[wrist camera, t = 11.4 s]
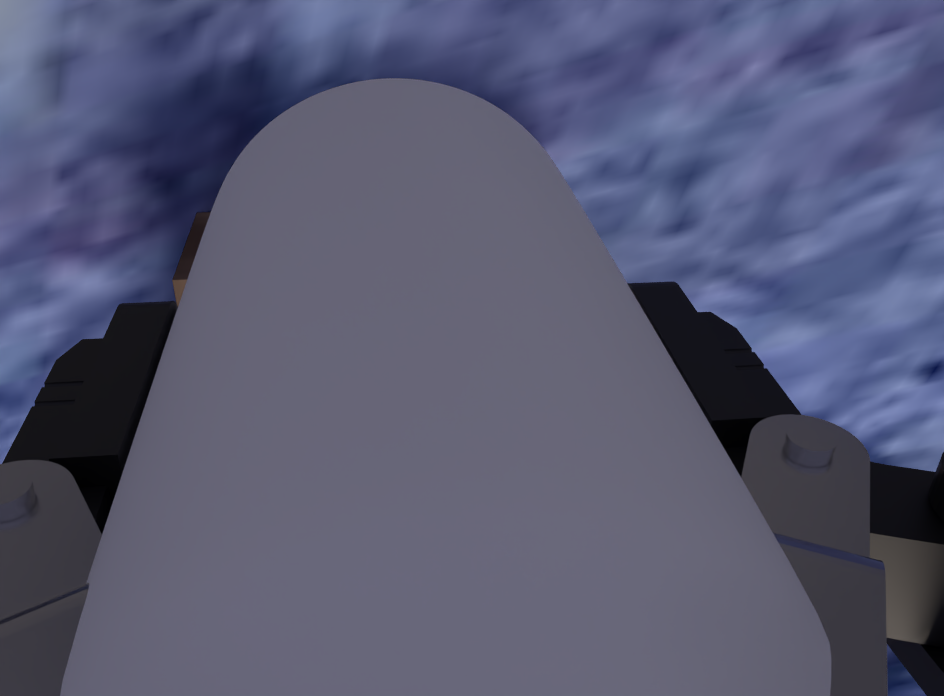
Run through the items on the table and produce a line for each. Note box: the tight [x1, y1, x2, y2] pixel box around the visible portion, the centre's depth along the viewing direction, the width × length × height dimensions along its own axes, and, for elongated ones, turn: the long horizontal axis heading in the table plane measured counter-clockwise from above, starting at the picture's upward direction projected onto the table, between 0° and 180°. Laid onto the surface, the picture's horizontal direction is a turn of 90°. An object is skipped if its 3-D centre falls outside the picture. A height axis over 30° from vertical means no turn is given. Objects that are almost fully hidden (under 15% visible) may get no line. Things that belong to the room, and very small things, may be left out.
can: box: [60, 78, 831, 696], centre depth 11 cm, size 6×6×12 cm
